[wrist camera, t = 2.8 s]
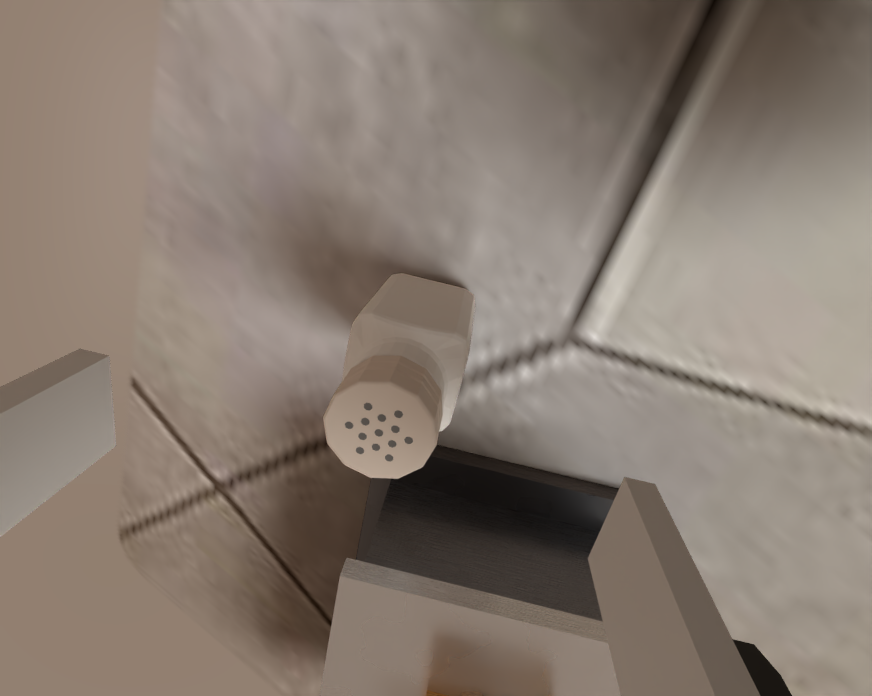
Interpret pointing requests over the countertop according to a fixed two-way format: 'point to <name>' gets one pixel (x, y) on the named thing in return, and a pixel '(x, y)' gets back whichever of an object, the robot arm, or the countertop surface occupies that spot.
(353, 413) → the pepper shaker
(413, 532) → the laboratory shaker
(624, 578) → the robot arm
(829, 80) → the countertop surface
